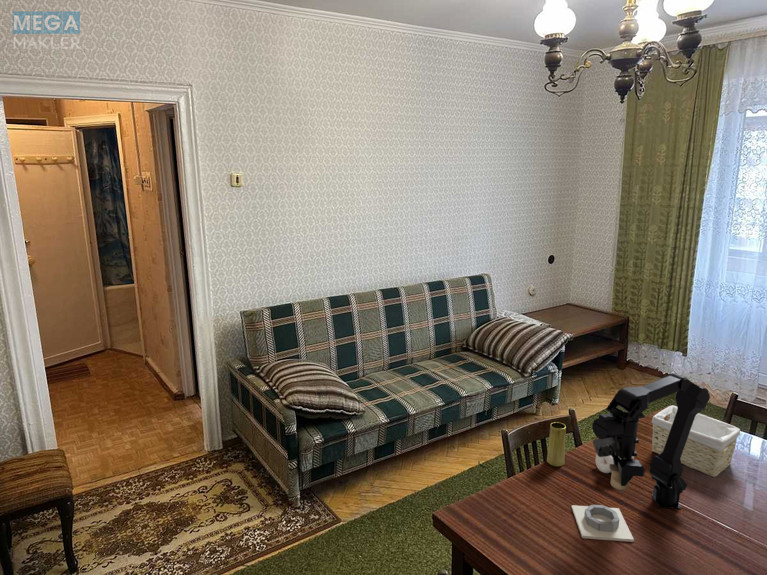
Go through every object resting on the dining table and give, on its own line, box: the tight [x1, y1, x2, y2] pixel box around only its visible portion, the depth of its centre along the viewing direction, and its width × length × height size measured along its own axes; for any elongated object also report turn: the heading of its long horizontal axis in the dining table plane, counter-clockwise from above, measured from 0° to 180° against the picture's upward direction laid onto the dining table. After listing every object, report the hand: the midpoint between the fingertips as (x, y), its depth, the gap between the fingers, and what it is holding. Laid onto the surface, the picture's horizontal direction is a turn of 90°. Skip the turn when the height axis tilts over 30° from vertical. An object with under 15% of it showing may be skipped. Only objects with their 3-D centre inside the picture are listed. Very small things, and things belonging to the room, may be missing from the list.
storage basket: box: [651, 404, 741, 478], centre depth 191 cm, size 24×16×15 cm
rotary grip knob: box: [609, 464, 631, 491], centre depth 158 cm, size 6×5×6 cm
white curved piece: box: [595, 453, 635, 474], centre depth 184 cm, size 11×12×9 cm
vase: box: [546, 421, 567, 467], centre depth 190 cm, size 6×6×14 cm
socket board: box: [571, 504, 635, 543], centre depth 158 cm, size 14×14×3 cm
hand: (620, 480), depth 158 cm, fingers closed on rotary grip knob, 5 cm apart
